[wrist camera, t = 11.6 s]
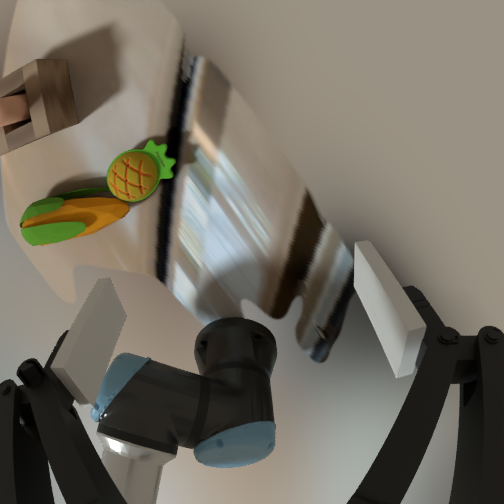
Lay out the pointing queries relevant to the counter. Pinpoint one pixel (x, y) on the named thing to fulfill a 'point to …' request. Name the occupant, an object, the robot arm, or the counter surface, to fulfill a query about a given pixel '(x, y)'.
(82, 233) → the corn
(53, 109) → the socket block
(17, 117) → the peg
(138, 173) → the toy pineapple
